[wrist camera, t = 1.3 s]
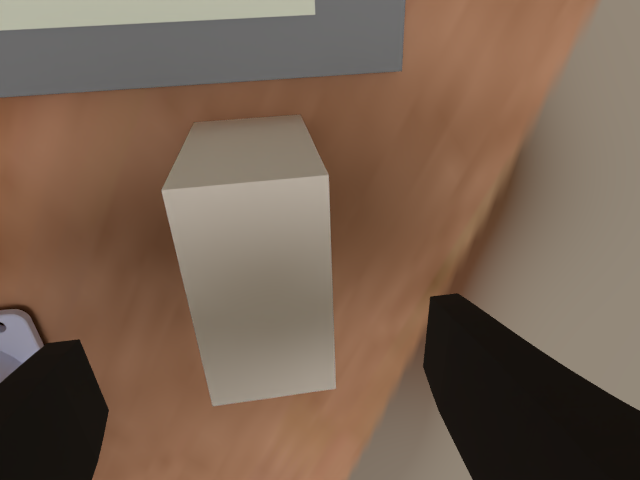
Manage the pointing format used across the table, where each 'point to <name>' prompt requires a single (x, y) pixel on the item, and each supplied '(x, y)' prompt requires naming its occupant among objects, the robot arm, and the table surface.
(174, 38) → the mat
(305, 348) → the beige rectangular block
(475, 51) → the table surface
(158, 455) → the table surface
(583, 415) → the robot arm
